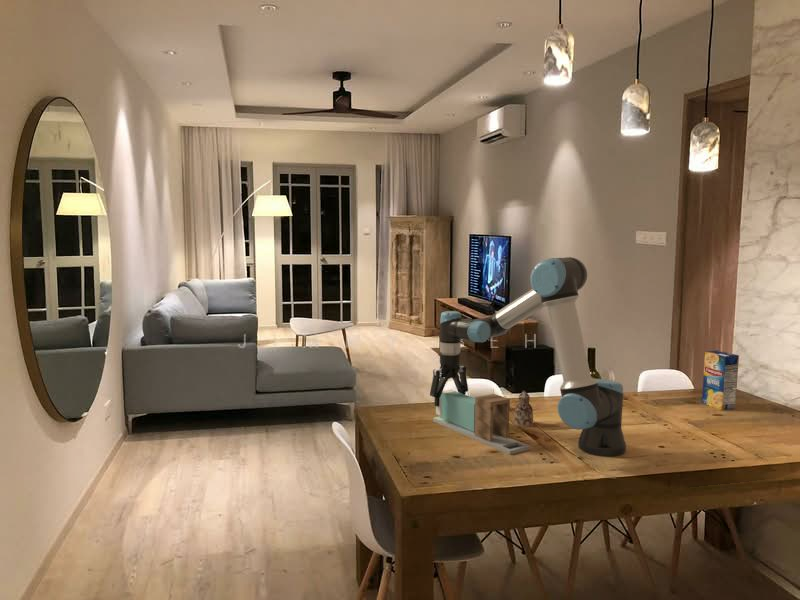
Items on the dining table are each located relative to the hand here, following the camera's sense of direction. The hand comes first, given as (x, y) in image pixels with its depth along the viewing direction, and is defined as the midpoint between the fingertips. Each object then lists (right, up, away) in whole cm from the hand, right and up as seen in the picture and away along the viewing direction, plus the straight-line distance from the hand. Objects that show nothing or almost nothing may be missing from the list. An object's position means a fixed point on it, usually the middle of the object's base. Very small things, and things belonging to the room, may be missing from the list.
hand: (449, 412), depth 248 cm
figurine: (+28, -4, -1) cm, 28 cm away
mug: (+14, -1, +22) cm, 26 cm away
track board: (+9, -5, -14) cm, 17 cm away
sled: (+4, -3, -6) cm, 8 cm away
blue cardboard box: (+112, -2, +25) cm, 115 cm away
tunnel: (+13, -5, -20) cm, 24 cm away
